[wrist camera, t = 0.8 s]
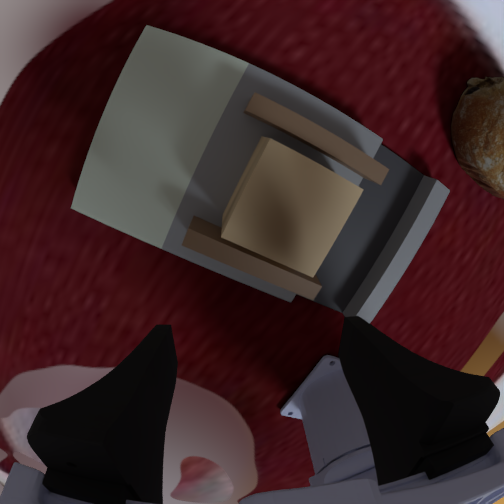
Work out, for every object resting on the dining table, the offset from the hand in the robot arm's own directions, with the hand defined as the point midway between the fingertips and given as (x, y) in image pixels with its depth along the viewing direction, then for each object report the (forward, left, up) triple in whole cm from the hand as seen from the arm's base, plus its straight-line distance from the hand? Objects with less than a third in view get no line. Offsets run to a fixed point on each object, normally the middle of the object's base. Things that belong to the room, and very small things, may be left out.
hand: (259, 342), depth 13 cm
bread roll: (-14, -18, -10) cm, 25 cm away
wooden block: (0, -5, -8) cm, 9 cm away
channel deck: (0, -5, -10) cm, 11 cm away
